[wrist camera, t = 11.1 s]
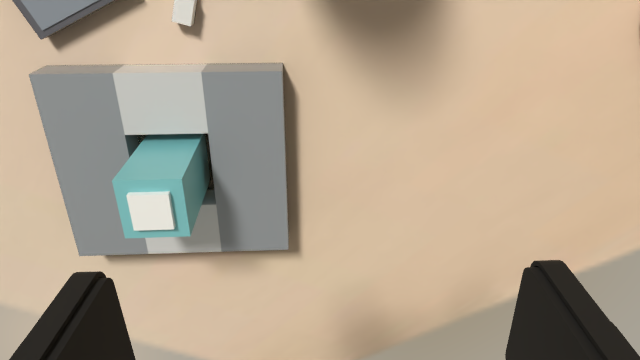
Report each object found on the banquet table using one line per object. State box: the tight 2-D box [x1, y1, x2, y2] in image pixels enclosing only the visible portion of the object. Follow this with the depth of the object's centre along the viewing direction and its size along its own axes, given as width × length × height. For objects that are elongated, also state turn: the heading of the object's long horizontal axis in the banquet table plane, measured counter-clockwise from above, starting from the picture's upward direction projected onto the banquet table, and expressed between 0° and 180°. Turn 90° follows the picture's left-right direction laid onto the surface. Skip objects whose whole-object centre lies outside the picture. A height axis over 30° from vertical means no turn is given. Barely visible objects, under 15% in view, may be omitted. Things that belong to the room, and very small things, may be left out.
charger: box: [112, 133, 210, 238], centre depth 31 cm, size 4×4×8 cm
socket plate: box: [29, 63, 289, 256], centre depth 34 cm, size 16×14×2 cm
